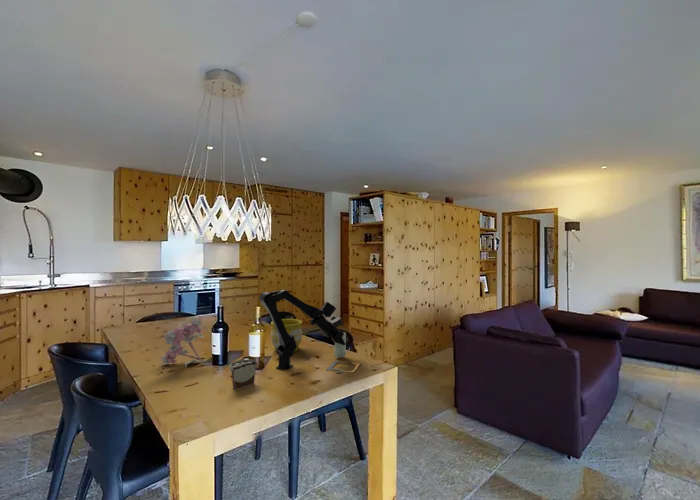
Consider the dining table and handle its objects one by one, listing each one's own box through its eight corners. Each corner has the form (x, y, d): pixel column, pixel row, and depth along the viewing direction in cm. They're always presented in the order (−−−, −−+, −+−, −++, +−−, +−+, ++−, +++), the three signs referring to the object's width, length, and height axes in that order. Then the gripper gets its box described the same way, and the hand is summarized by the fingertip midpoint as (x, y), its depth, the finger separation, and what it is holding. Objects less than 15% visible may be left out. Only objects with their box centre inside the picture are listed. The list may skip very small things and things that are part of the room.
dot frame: (354, 373, 168) (354, 372, 168) (326, 370, 172) (326, 369, 172) (361, 364, 182) (361, 363, 182) (334, 361, 185) (334, 360, 185)
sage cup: (346, 357, 188) (346, 333, 188) (335, 357, 187) (335, 334, 187) (344, 353, 194) (344, 331, 194) (333, 354, 193) (334, 331, 193)
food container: (248, 379, 159) (248, 357, 159) (257, 382, 155) (257, 359, 155) (223, 387, 150) (223, 363, 150) (231, 391, 146) (232, 367, 146)
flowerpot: (264, 352, 202) (264, 323, 202) (283, 344, 218) (283, 317, 218) (290, 356, 194) (290, 326, 194) (308, 348, 210) (308, 320, 210)
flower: (194, 350, 198) (173, 313, 190) (221, 352, 186) (200, 312, 178) (164, 376, 182) (140, 336, 174) (191, 380, 170) (167, 338, 162)
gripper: (340, 315, 181) (359, 335, 185) (327, 310, 198) (345, 328, 202) (325, 332, 177) (345, 352, 182) (313, 325, 194) (332, 343, 199)
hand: (342, 343), depth 191 cm, fingers closed on sage cup, 6 cm apart
